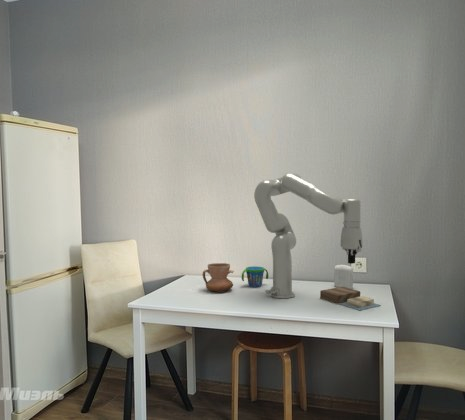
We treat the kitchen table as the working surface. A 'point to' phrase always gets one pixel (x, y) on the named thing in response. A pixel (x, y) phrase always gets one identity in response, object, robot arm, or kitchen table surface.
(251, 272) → the snack cup
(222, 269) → the ceramic jug
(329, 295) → the block
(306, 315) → the kitchen table surface
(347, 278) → the white upright block
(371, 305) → the slate mat
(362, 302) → the birch tile
